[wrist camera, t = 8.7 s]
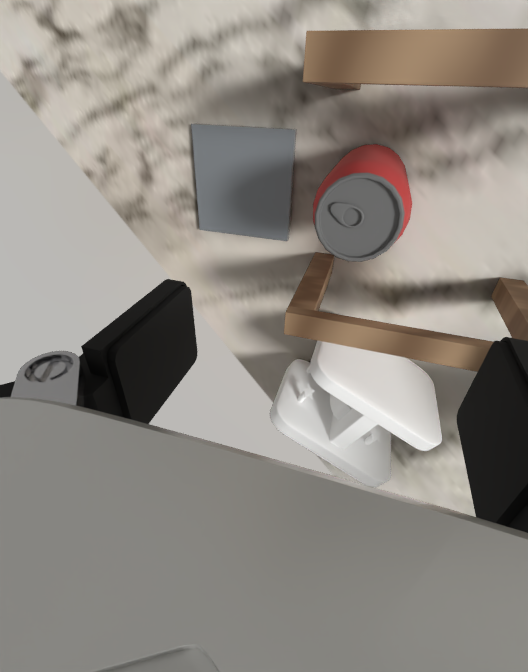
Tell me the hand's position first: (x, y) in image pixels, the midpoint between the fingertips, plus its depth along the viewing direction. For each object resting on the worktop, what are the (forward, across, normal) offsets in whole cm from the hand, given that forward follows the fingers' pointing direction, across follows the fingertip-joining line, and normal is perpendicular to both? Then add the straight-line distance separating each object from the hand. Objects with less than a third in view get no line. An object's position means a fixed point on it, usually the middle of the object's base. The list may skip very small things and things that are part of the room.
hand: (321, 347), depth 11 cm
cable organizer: (+26, -3, +21) cm, 34 cm away
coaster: (+26, +12, +1) cm, 29 cm away
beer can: (+26, 0, 0) cm, 26 cm away
